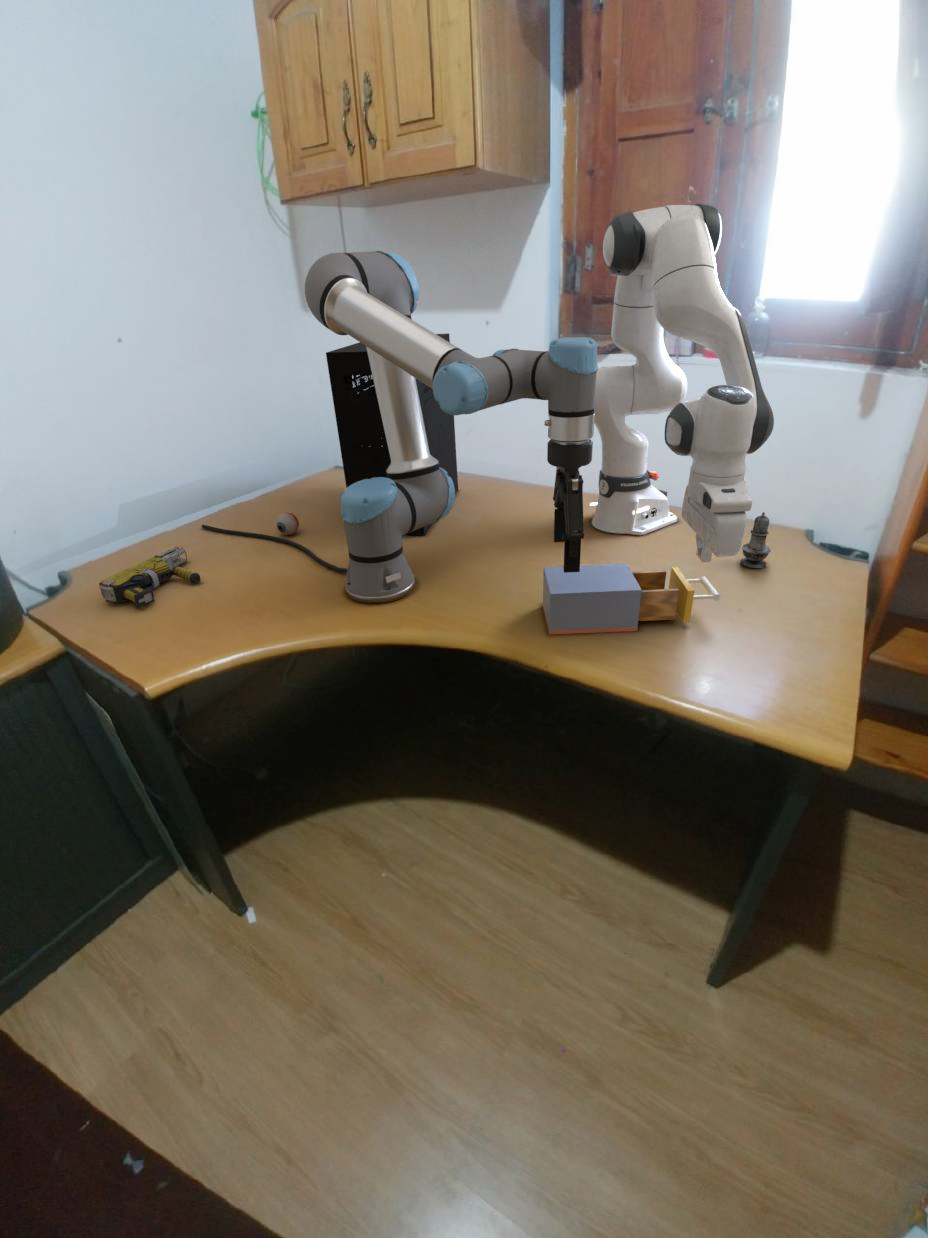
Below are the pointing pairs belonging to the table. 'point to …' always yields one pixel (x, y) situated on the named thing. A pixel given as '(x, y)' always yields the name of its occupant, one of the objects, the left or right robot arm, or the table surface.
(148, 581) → the toy gun
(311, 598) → the table surface
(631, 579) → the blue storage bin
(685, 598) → the drawer
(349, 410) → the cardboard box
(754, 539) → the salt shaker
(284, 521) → the eyeball
